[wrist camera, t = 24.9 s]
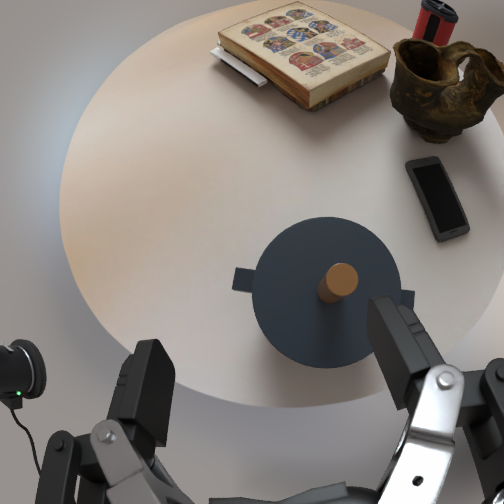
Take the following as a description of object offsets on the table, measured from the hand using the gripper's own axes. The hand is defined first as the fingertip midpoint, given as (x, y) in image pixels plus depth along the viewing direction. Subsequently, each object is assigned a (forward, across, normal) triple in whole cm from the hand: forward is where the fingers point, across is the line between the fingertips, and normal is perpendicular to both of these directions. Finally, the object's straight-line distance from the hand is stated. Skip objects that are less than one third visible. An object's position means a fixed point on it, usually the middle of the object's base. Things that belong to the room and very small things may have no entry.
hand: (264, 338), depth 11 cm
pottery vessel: (+40, -35, 0) cm, 54 cm away
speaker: (+52, -42, -12) cm, 68 cm away
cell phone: (+30, -29, +11) cm, 43 cm away
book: (+55, -14, -14) cm, 58 cm away
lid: (+15, -6, +12) cm, 20 cm away
